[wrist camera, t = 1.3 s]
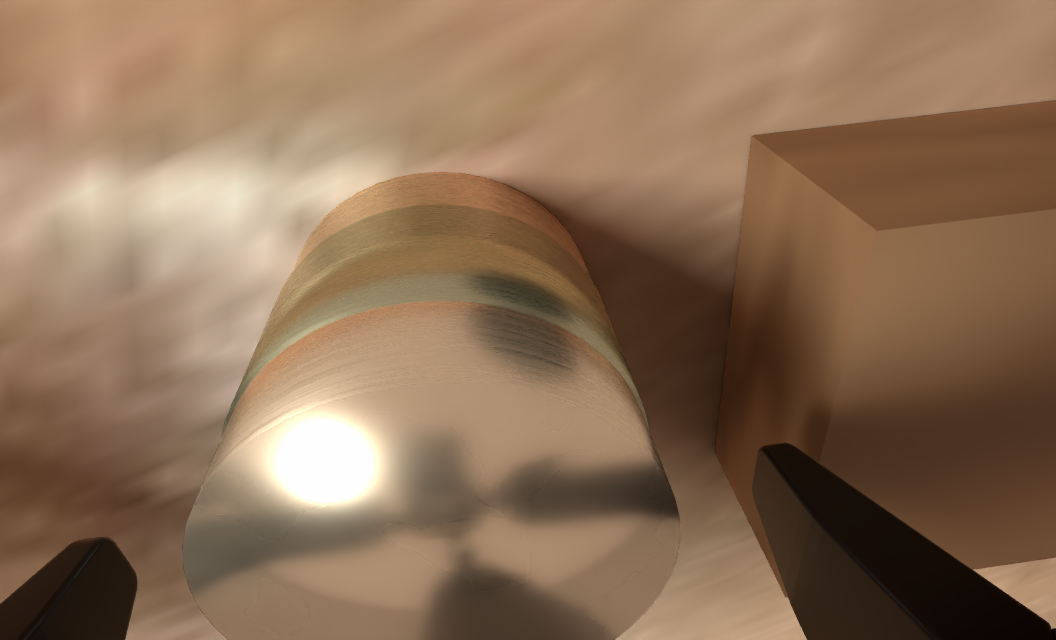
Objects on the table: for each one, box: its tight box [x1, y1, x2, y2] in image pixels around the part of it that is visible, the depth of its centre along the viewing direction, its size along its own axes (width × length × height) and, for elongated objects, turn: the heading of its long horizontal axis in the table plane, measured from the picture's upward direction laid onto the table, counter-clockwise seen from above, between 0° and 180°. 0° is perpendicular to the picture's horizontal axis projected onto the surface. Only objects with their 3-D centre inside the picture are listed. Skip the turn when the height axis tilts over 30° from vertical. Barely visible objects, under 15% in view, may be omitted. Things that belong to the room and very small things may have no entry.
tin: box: [182, 172, 680, 640], centre depth 10 cm, size 6×6×6 cm
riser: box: [715, 101, 1056, 597], centre depth 12 cm, size 8×8×4 cm
